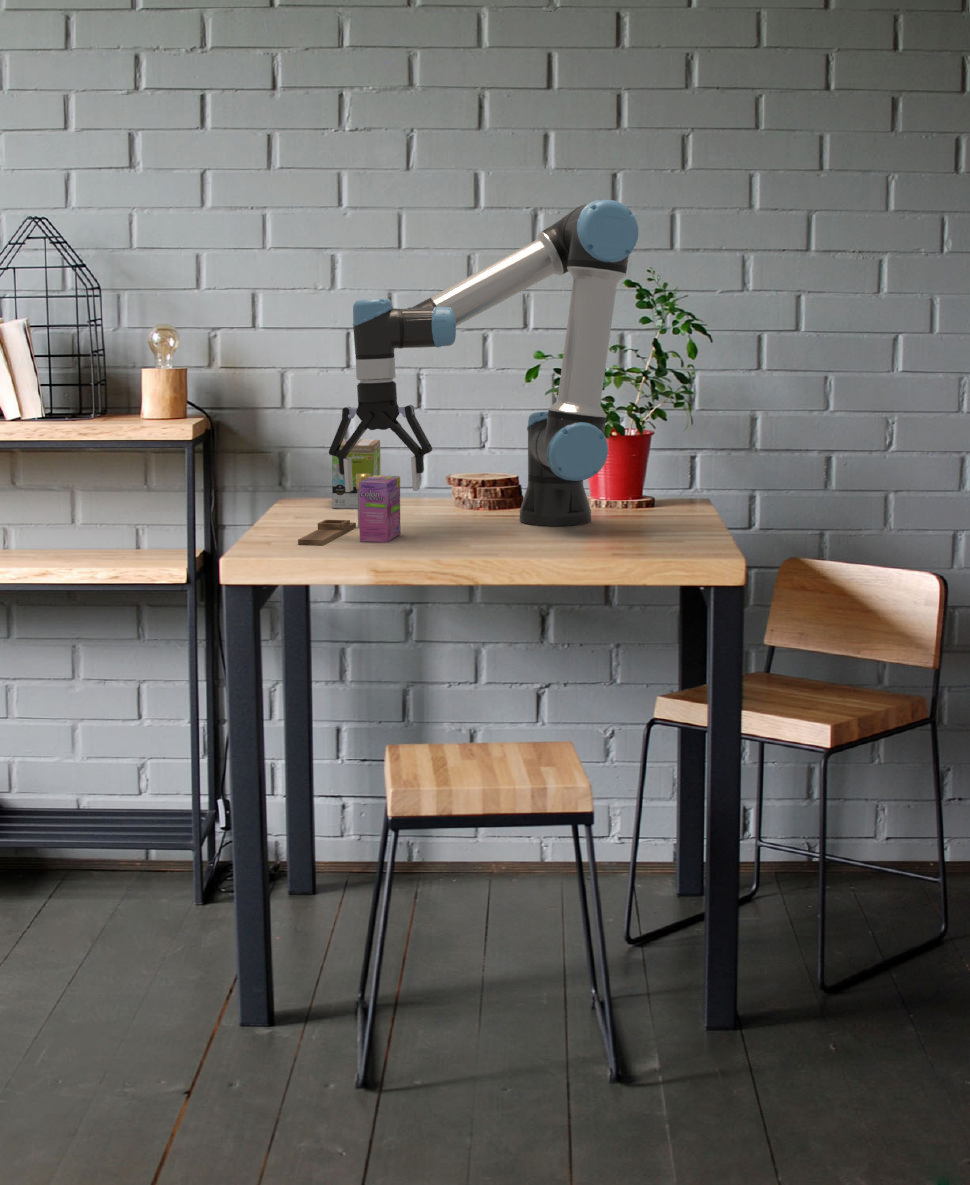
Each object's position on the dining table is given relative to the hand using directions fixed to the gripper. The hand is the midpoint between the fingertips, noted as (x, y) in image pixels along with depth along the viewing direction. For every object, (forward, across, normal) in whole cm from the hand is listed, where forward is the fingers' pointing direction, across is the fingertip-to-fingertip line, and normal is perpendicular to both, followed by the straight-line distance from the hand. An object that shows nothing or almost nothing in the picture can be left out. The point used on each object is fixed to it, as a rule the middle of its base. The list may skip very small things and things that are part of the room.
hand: (382, 490), depth 259 cm
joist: (+9, +12, -1) cm, 15 cm away
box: (+10, +1, 0) cm, 10 cm away
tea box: (+10, +19, -45) cm, 49 cm away
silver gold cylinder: (+9, +8, -13) cm, 18 cm away
